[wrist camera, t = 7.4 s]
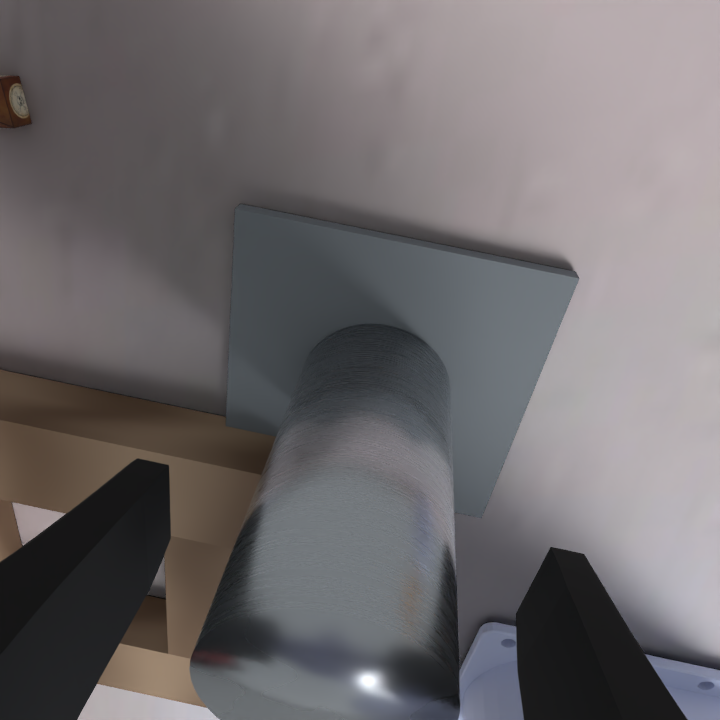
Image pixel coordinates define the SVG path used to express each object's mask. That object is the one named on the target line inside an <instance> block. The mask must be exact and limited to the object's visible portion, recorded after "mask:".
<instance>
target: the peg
mask: <svg viewBox="0 0 720 720" xmlns="http://www.w3.org/2000/svg"><path fill="white" fill-rule="evenodd" d="M189 670H190V677H191V681H192V684H193V687H194V689H195V691H196V693H197V694H198V696H199V698H200V699H201V700H202V702H203V703H204V704H205V705H206V707H207V708H208V709H209V710H210V711H211V712H212V713H213V714H214V715H215V716H216V717H218V718H219V719H220V720H458V718H459V715H460V680H459V648H458V615H457V583H456V551H455V519H454V486H453V454H452V422H451V390H450V380H449V376H448V373H447V370H446V368H445V366H444V363H443V362H442V360H441V359H440V357H439V356H438V354H437V353H436V352H435V351H434V350H433V349H432V348H431V347H430V346H429V345H428V344H427V343H426V342H425V341H423V340H422V339H420V338H419V337H417V336H416V335H414V334H412V333H410V332H408V331H405V330H403V329H400V328H397V327H393V326H389V325H383V324H358V325H353V326H349V327H345V328H342V329H340V330H337V331H335V332H333V333H331V334H329V335H328V336H327V337H325V338H324V339H322V340H321V341H320V342H319V343H318V344H317V345H316V346H315V347H314V348H313V350H312V351H311V352H310V353H309V355H308V357H307V359H306V361H305V363H304V366H303V369H302V371H301V374H300V376H299V379H298V382H297V384H296V387H295V389H294V392H293V395H292V397H291V400H290V402H289V405H288V407H287V410H286V413H285V415H284V418H283V420H282V423H281V426H280V428H279V431H278V433H277V436H276V438H275V441H274V444H273V446H272V449H271V451H270V454H269V457H268V459H267V462H266V464H265V467H264V470H263V472H262V475H261V477H260V480H259V482H258V485H257V488H256V490H255V493H254V495H253V498H252V501H251V503H250V506H249V508H248V511H247V513H246V516H245V519H244V521H243V524H242V526H241V529H240V532H239V534H238V537H237V539H236V542H235V544H234V547H233V550H232V552H231V555H230V557H229V560H228V563H227V565H226V568H225V570H224V573H223V576H222V578H221V581H220V583H219V586H218V588H217V591H216V594H215V596H214V599H213V601H212V604H211V607H210V609H209V612H208V614H207V617H206V619H205V622H204V625H203V627H202V630H201V632H200V635H199V638H198V640H197V643H196V645H195V648H194V651H193V653H192V656H191V659H190V668H189Z"/></svg>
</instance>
